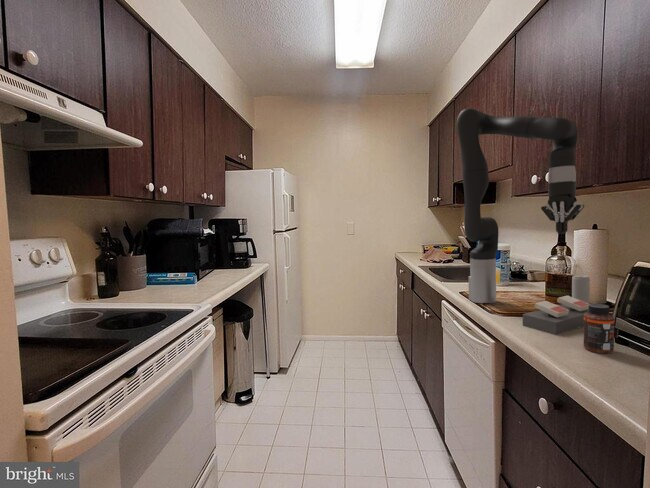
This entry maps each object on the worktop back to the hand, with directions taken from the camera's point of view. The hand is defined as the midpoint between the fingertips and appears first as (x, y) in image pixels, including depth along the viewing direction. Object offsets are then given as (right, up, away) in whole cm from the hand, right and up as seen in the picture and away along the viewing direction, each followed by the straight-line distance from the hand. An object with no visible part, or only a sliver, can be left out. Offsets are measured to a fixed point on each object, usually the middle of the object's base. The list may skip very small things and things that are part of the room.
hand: (561, 233), depth 113 cm
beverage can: (+9, -27, +3) cm, 28 cm away
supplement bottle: (-11, -30, -29) cm, 43 cm away
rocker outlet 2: (-1, -22, -6) cm, 23 cm away
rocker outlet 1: (-11, -23, -11) cm, 28 cm away
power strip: (-6, -28, -8) cm, 30 cm away
